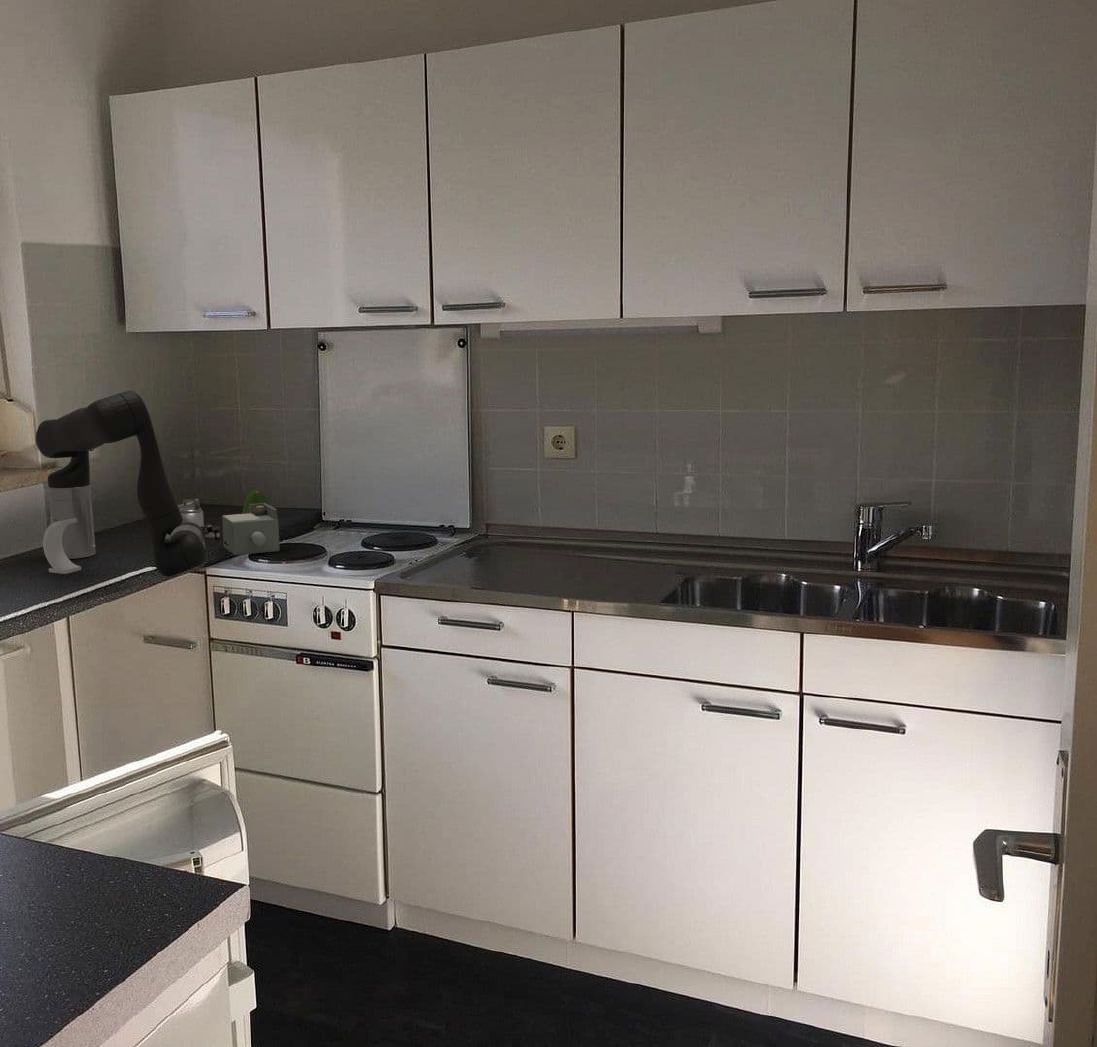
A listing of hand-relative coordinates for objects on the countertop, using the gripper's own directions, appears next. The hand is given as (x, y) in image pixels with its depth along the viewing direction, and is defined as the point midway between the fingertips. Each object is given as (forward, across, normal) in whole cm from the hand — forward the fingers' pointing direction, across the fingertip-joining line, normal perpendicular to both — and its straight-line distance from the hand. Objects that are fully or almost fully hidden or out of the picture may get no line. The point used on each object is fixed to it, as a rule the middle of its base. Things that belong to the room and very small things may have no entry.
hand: (192, 528), depth 258 cm
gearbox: (+3, -14, +7) cm, 15 cm away
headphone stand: (-11, +28, +7) cm, 30 cm away
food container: (+19, +3, +7) cm, 21 cm away
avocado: (+24, -15, +7) cm, 29 cm away
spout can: (-2, 0, +6) cm, 7 cm away
